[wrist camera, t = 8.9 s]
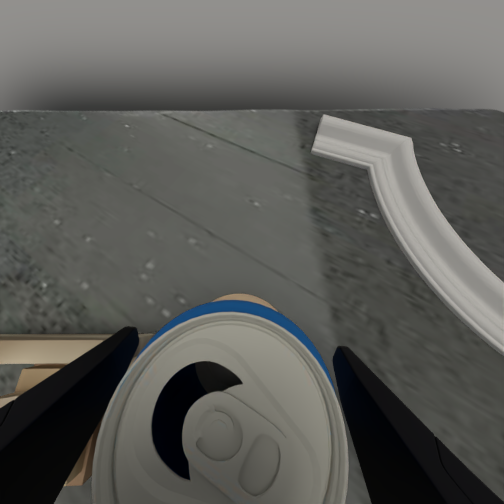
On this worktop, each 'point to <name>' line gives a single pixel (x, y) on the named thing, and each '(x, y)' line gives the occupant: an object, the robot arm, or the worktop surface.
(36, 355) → the rack
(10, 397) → the offcut stack
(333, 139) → the molding
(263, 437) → the beverage can
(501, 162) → the worktop surface
